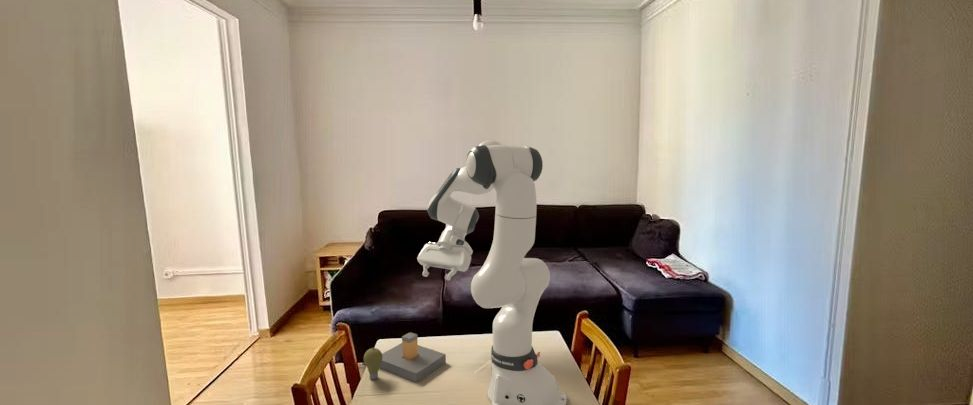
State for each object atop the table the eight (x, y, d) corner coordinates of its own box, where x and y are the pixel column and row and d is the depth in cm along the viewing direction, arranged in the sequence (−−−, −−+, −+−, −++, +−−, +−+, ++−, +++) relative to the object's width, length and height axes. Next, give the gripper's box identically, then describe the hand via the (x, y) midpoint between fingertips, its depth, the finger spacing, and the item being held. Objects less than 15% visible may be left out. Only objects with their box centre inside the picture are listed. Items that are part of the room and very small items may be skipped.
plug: (418, 363, 139) (417, 334, 138) (410, 368, 136) (409, 338, 135) (411, 360, 141) (409, 332, 139) (403, 365, 138) (401, 336, 136)
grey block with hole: (445, 364, 139) (445, 354, 139) (416, 384, 128) (416, 373, 127) (405, 350, 149) (405, 340, 149) (375, 367, 137) (374, 357, 137)
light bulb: (385, 375, 133) (384, 344, 132) (379, 384, 128) (378, 353, 126) (368, 374, 134) (367, 344, 132) (361, 384, 128) (360, 352, 127)
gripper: (423, 237, 158) (407, 269, 151) (470, 242, 149) (456, 277, 141) (430, 246, 163) (415, 277, 155) (476, 252, 153) (463, 286, 146)
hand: (435, 277), depth 148 cm, fingers open, 8 cm apart
